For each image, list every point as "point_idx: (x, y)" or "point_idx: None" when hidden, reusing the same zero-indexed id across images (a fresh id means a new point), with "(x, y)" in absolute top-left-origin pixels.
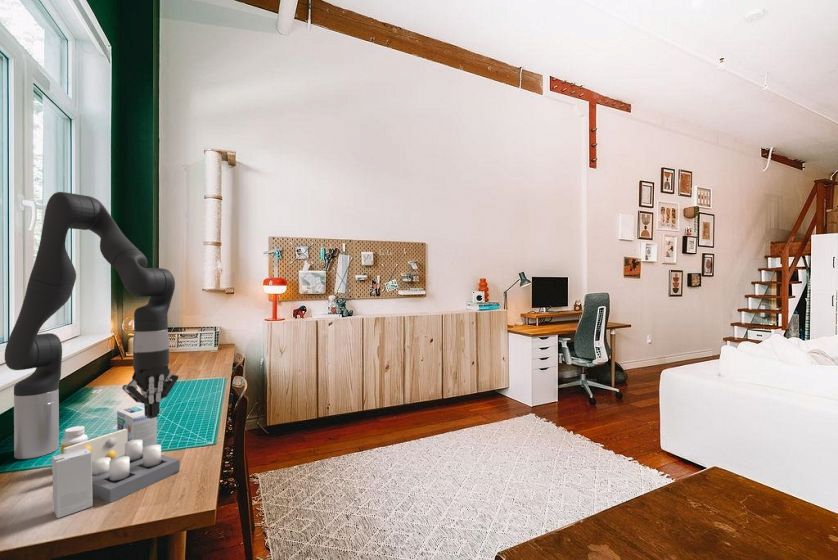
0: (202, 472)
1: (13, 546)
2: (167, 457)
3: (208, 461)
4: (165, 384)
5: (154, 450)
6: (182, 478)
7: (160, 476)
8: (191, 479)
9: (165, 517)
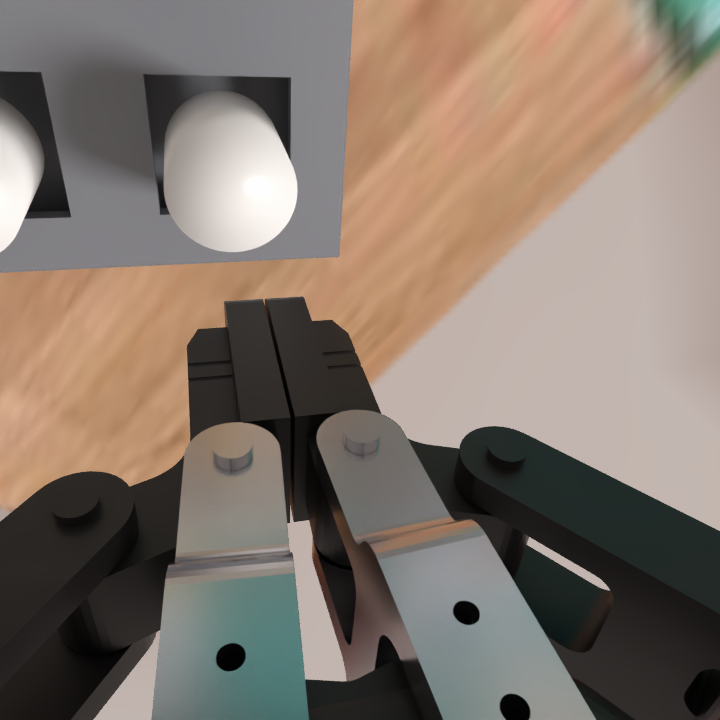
0: (364, 330)
1: None
2: (334, 150)
3: (471, 250)
4: (651, 644)
5: (216, 248)
6: None
7: None
8: None
9: None
